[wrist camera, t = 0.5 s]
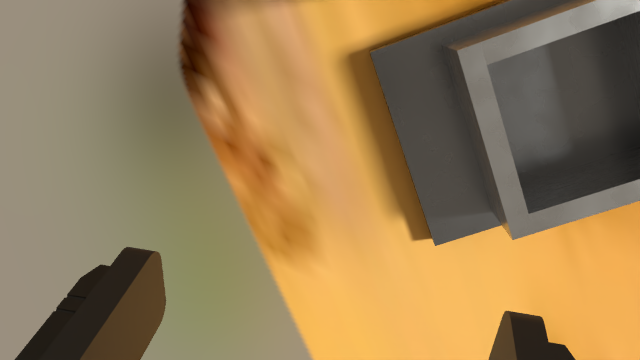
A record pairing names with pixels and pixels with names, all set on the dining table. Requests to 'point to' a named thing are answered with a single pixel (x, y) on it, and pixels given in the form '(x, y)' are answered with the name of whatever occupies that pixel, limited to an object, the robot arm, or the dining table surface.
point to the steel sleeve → (519, 114)
